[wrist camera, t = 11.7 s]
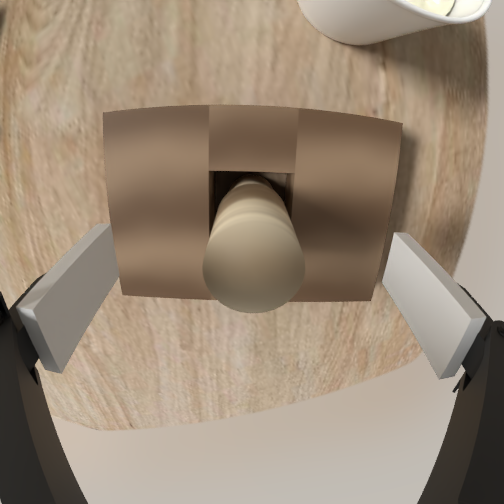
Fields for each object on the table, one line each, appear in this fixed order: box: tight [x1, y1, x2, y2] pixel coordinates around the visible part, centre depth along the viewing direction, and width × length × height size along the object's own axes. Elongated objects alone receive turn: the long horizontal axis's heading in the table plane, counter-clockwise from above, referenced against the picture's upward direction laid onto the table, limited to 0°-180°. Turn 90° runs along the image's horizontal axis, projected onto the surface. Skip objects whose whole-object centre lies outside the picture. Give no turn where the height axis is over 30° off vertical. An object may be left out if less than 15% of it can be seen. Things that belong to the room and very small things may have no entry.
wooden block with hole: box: [103, 105, 403, 302], centre depth 22 cm, size 14×20×4 cm
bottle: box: [202, 174, 305, 313], centre depth 19 cm, size 4×4×12 cm
